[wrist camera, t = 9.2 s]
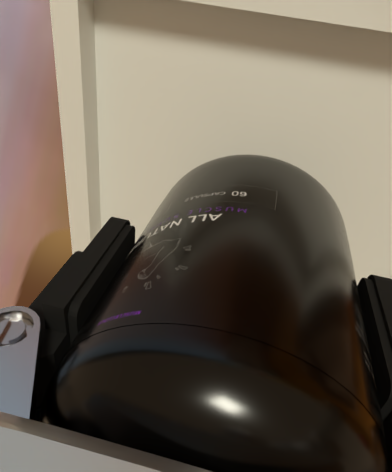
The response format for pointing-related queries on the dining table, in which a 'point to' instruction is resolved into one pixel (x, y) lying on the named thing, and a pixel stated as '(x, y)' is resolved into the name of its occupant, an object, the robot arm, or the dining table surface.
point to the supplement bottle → (231, 333)
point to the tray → (225, 104)
